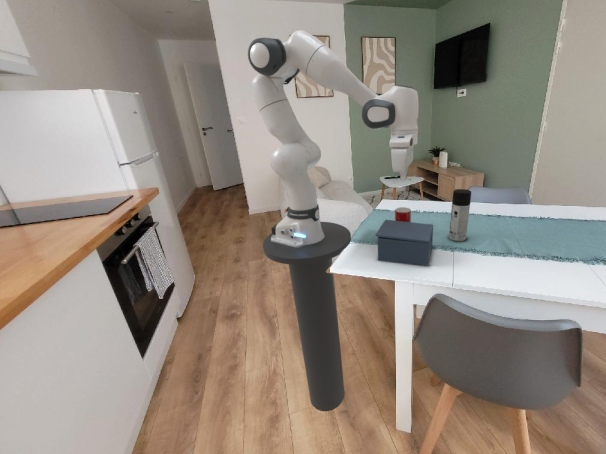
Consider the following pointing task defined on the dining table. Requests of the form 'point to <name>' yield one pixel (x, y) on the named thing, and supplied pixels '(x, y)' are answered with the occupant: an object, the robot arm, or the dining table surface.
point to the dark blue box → (404, 251)
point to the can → (403, 214)
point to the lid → (405, 231)
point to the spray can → (459, 214)
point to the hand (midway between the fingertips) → (403, 179)
